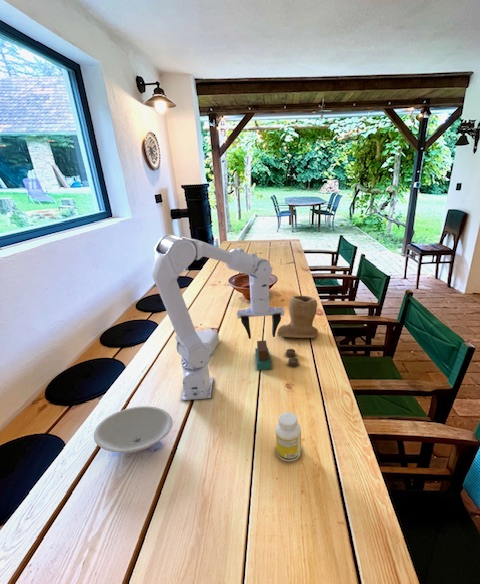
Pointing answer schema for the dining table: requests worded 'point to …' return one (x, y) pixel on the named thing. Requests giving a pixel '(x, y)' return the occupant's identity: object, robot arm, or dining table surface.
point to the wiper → (262, 356)
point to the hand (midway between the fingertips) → (261, 336)
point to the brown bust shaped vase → (300, 318)
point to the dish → (133, 429)
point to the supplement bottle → (288, 437)
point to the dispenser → (209, 339)
